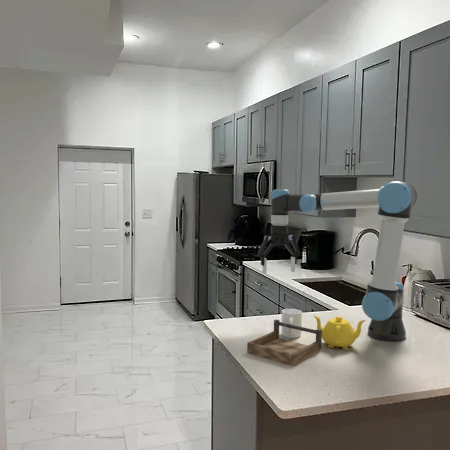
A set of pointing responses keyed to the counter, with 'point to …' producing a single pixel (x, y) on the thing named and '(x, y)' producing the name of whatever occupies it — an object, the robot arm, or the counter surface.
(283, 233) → the robot arm
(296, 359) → the wooden serving tray
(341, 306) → the counter surface
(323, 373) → the counter surface
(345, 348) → the teapot
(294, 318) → the mug
